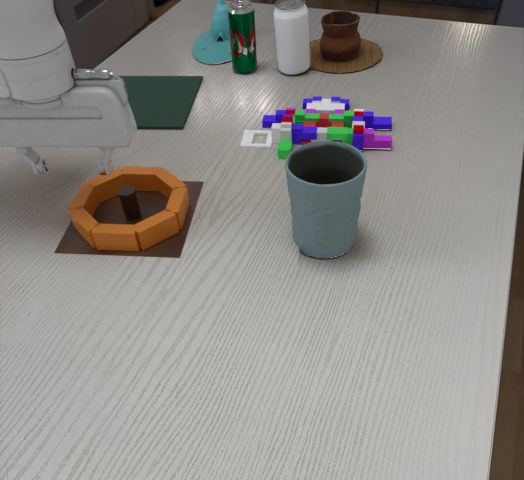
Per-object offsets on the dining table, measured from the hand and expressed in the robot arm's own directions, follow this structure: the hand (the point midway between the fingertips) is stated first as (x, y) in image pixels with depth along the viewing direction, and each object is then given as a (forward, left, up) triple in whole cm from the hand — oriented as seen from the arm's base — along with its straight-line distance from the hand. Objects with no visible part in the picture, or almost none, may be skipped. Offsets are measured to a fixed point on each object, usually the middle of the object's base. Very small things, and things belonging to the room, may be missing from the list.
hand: (74, 172), depth 75 cm
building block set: (+33, +26, -8) cm, 43 cm away
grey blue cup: (+35, -3, -8) cm, 36 cm away
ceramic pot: (+36, +57, -8) cm, 68 cm away
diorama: (+10, +62, -8) cm, 63 cm away
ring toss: (+7, 0, -8) cm, 10 cm away
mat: (-1, +36, -8) cm, 37 cm away
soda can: (+17, +50, -8) cm, 53 cm away
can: (+27, +50, -8) cm, 57 cm away
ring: (+7, 0, -7) cm, 10 cm away
